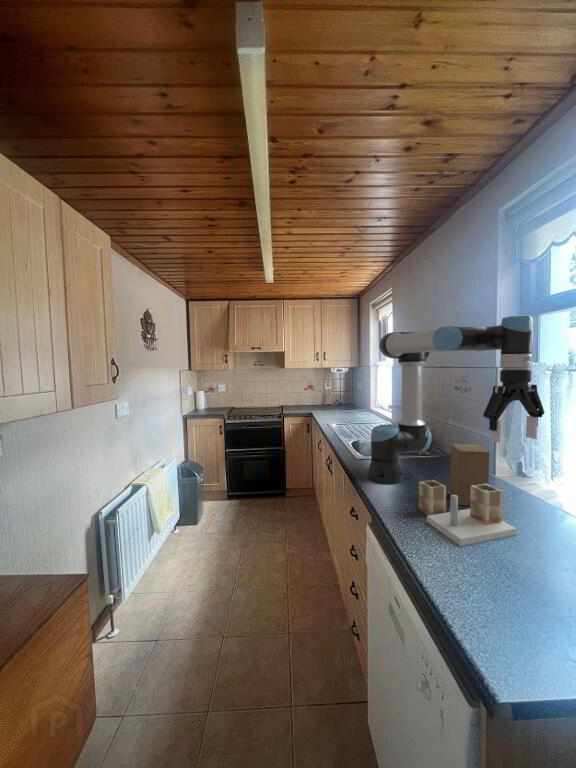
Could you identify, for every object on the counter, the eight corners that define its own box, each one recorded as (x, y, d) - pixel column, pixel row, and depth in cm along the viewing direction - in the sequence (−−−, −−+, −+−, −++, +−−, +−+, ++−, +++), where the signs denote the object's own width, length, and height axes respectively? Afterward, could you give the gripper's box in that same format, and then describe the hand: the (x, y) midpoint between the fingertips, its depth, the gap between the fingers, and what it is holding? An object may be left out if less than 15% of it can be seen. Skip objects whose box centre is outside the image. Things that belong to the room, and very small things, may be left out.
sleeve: (418, 509, 110) (419, 481, 110) (433, 507, 112) (433, 479, 111) (430, 517, 105) (430, 488, 104) (445, 515, 106) (446, 486, 105)
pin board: (426, 521, 102) (427, 488, 101) (477, 513, 107) (478, 481, 106) (460, 546, 88) (461, 508, 88) (516, 534, 93) (517, 498, 93)
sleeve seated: (470, 515, 101) (470, 485, 100) (485, 513, 103) (485, 483, 102) (486, 525, 95) (486, 493, 95) (501, 522, 97) (502, 490, 96)
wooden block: (488, 507, 111) (490, 451, 110) (457, 505, 113) (458, 450, 112) (477, 495, 121) (478, 444, 119) (449, 493, 123) (450, 443, 121)
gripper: (492, 370, 86) (490, 446, 88) (561, 368, 92) (558, 439, 94) (470, 369, 94) (469, 439, 95) (535, 367, 100) (533, 433, 101)
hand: (513, 439), depth 95 cm, fingers open, 13 cm apart
